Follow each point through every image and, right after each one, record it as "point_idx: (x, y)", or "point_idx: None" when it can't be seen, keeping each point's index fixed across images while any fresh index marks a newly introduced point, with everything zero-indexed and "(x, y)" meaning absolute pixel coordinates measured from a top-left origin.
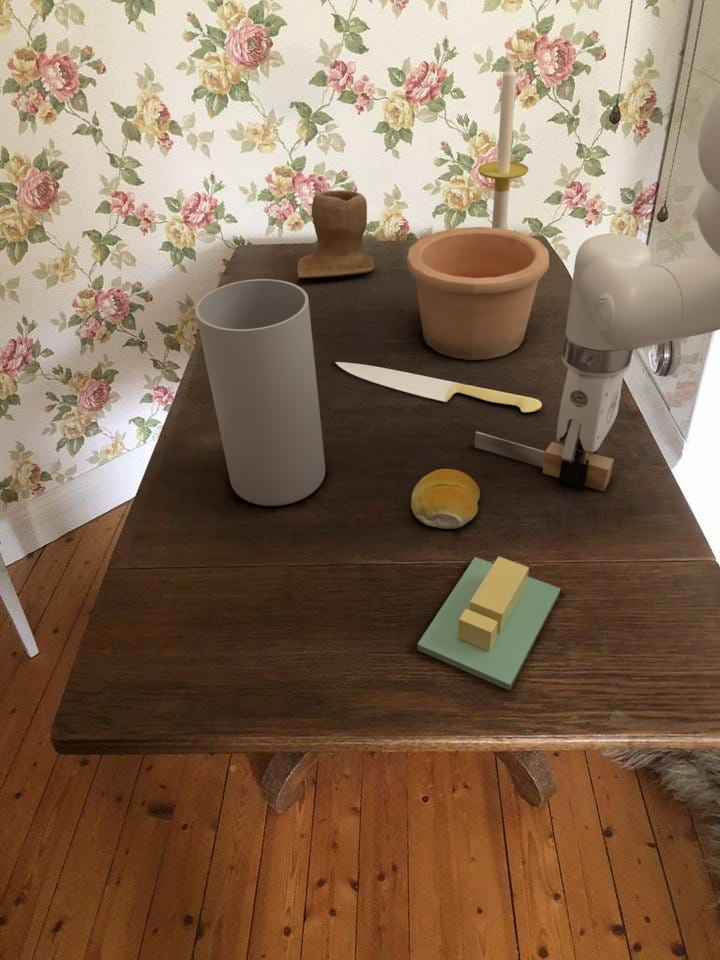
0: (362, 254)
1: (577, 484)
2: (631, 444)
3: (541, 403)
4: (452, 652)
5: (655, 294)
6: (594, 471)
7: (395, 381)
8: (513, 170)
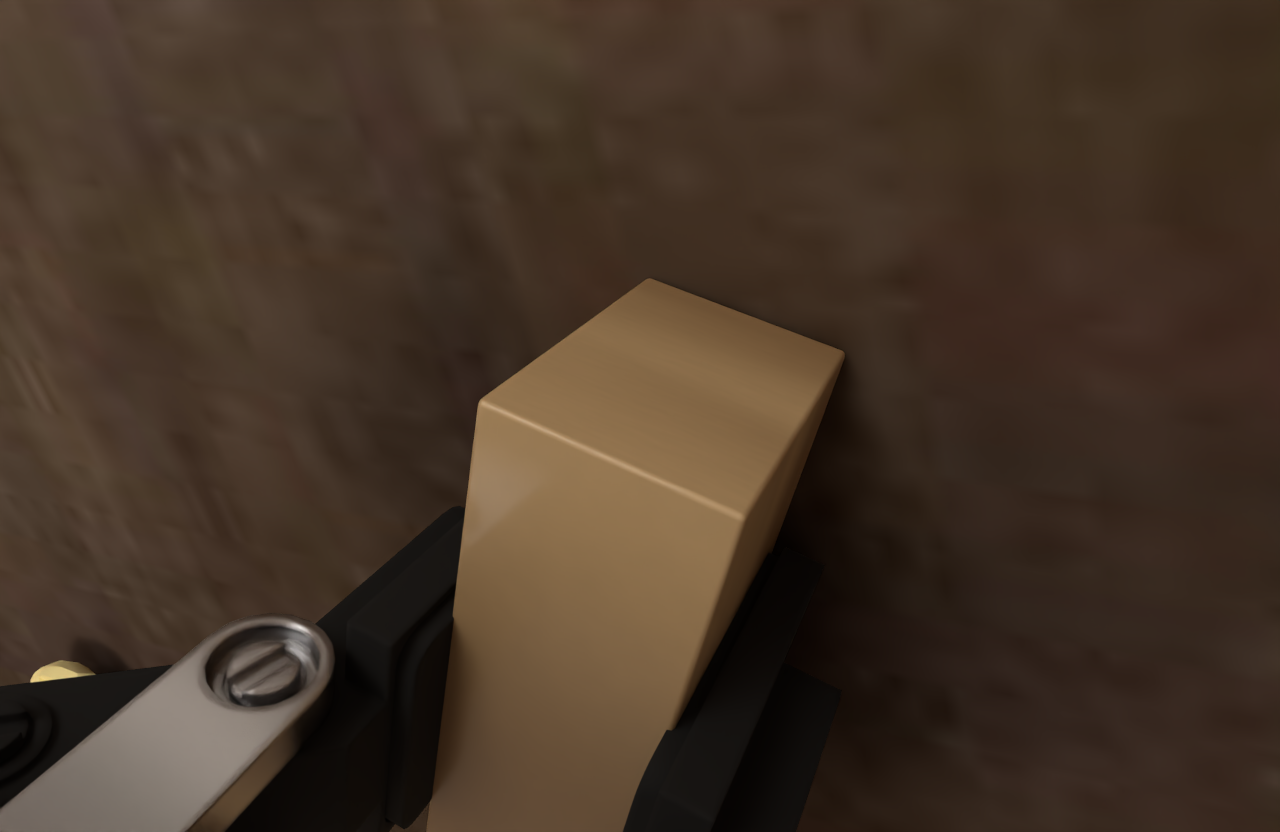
0: None
1: (805, 610)
2: (83, 39)
3: (45, 675)
4: None
5: None
6: (729, 601)
7: None
8: None
